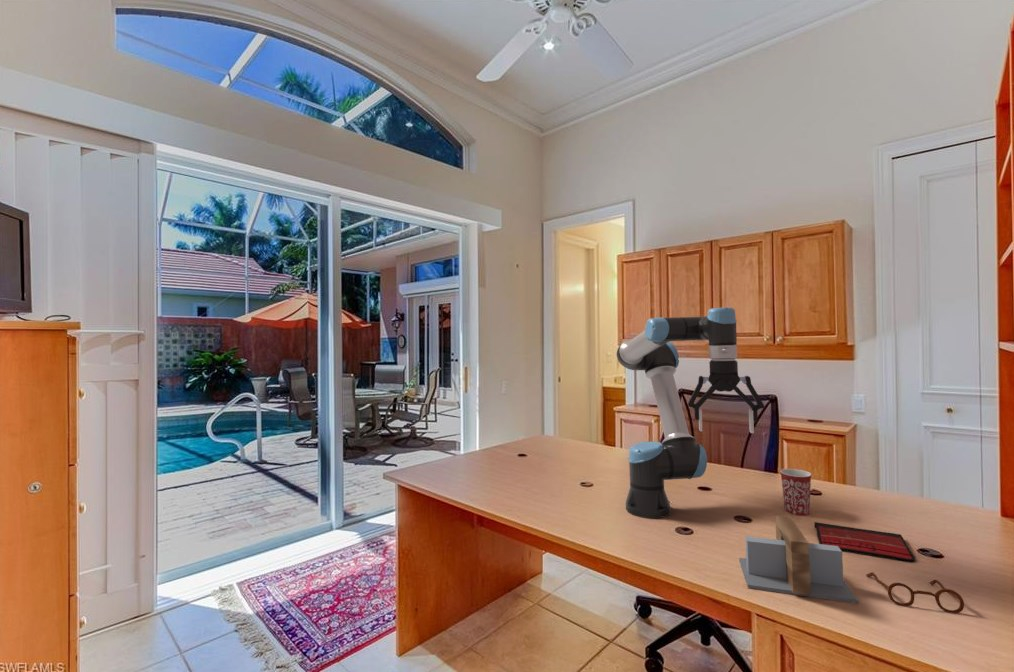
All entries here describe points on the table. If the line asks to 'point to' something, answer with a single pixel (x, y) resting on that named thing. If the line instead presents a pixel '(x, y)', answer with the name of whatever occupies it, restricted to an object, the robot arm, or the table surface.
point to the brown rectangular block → (795, 555)
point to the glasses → (922, 593)
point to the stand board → (770, 572)
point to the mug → (796, 491)
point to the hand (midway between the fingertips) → (725, 431)
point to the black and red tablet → (865, 541)
